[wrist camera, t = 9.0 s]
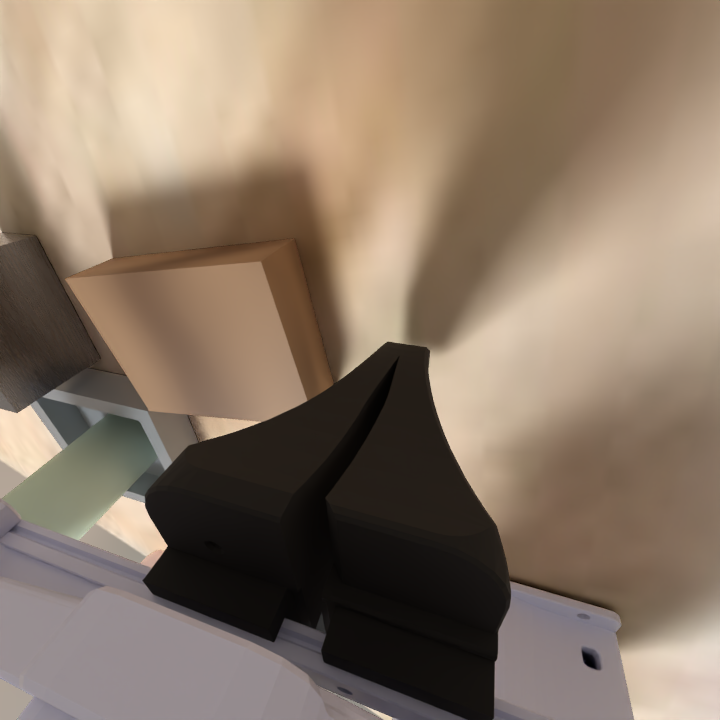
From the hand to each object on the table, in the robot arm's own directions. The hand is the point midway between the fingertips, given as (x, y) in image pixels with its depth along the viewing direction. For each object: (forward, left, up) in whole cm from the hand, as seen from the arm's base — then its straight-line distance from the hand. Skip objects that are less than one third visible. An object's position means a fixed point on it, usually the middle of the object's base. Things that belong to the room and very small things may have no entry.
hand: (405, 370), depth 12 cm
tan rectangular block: (+7, 0, -2) cm, 7 cm away
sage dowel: (+15, +8, -1) cm, 17 cm away
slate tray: (+15, +8, -1) cm, 17 cm away
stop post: (+16, 0, -1) cm, 16 cm away
